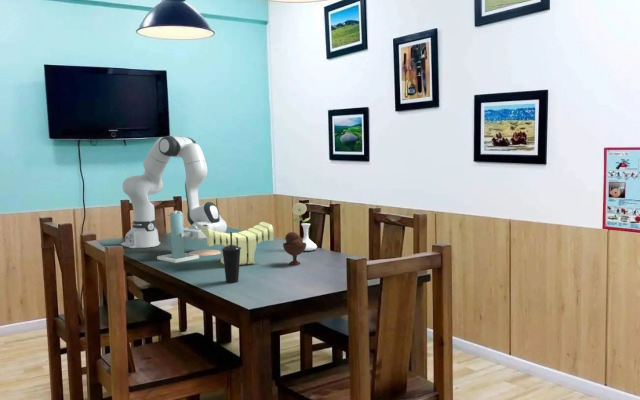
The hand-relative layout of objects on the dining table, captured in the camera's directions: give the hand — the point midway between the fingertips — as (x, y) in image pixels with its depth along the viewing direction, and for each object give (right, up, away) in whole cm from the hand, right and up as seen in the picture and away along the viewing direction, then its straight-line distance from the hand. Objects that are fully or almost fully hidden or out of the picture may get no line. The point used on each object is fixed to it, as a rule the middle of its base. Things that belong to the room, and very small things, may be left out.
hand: (175, 234), depth 276 cm
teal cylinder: (+1, -12, +2) cm, 12 cm away
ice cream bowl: (+57, -13, -11) cm, 60 cm away
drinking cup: (+34, -17, -45) cm, 58 cm away
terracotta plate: (+11, -11, +17) cm, 23 cm away
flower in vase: (+61, -10, +25) cm, 67 cm away
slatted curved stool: (+31, -13, -7) cm, 34 cm away
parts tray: (+1, -12, +2) cm, 13 cm away
